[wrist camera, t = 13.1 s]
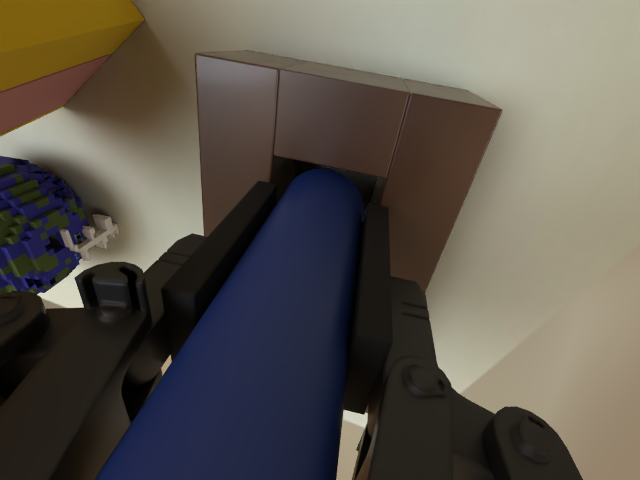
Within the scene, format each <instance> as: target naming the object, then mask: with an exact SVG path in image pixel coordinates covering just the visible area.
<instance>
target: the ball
mask: <svg viewBox="0 0 640 480" xmlns="http://www.w3.org/2000/svg"><path fill="white" fill-rule="evenodd" d="M93 217H94V220H95V223H96V226H97V230H100V231H99V232H97V233H95V230H94V227H89V224H88V220H87V217H86V214H85V211H84V208H83V205H82V202H81V199H80V197H76V196H75V194H74V193H73V191H72V189H70V188H67V186H66V185H65V182H64V181H63V180H61V179H58V177H57V176H54V175H52V172H46V171H45V169H44V168H38V167H37V165H35V164H30V163H29V161H28V160H22V159H15V158H10V157H3V156H0V294H4V293H9V292H18V291H23V292H31V293H34V294H36V295H37V294H38V293H40V292H42V293H45V292H46V291H48V290H49V289H51V288H52V287H53V286H55V285H56V284H57V283H59V282H60V281H61V280H63V279H64V278H65V277H67V276H68V275H69V273H71V272H72V270H74V269H75V268H76V266H77V265H79V260H80V259H81V258H83V260H84V261H90V260H91V259H90V256H89V253H88V249H89V248H91V247H92V246H94V245H95V247H99V248H104V249H106V248H107V244H106V242H108V239H107V237H111V238H115V237H116V235H115V234H119V229H118V226H117V224H115V223H112V221H111V217H109V216H103V215H98V214H94V215H93Z"/></svg>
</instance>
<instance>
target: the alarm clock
mask: <svg viewBox="0 0 640 480" xmlns="http://www.w3.org/2000/svg"><path fill="white" fill-rule="evenodd" d="M143 20H144V18H143V16H142V15H141V14H140V12H139V11H138V9H137V8H136V7H135V5H134V4H133V2H132V1H131V0H0V136H2V135H4V134H6V133H8V132H11V131H13V130H15V129H17V128H19V127H21V126H23V125H25V124H28V123H30V122H32V121H34V120H36V119H38V118H40V117H42V116H44V115H47V114H49V113H51V112H53V111H55V110H57V109H59V108H61V107H63V106H64V104H65V103H66V102H67V101H68V100H69V99H70V98H71V97H72V96H73V95H74V94H75V93H76V92H77V91H78V90H79V89H80V88H81V86H82V85H83V84H84V83H85V82H86V81H87V80H88V79H89V78H90V77H91V76H92V75H93V74H94V73H95V72H96V71H97V69H98V68H99V67H100V66H101V65H102V64H103V63H104V62H105V61H106V60H107V59H108V58H109V57H110V56H111V55H112V54H111V53H113V52H114V51H115V50H116V49H117V48H118V47H119V46H120V45H121V44H122V43H123V42H124V41H125V40H126V39H127V37H128V36H129V35H130V34H131V33H132V32H133V31H134V30H135V29H136V28H137V27H138V26H139V25H140V24H141V23H142V21H143Z"/></svg>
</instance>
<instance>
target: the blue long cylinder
mask: <svg viewBox="0 0 640 480" xmlns="http://www.w3.org/2000/svg"><path fill="white" fill-rule="evenodd" d="M363 219H364V201H363V198H362V195H361V193H360V191H359V189H358V188H357V186H356V185H355V184H354V183H353V182H352V181H351V180H350V179H349V178H347V177H346V176H344V175H342V174H341V173H338V172H336V171H333V170H328V169H313V170H309V171H306V172H304V173H302V174H300V175H298V176H297V177H296V178H294V179H293V180H292V181H291V182H290V184H289V185H288V187H287V188H286V190H285V191H284V193H283V194H282V196H281V197H280V199H279V200H278V202H277V203H276V205H275V206H274V208H273V209H272V211H271V212H270V214H269V215H268V217H267V219H266V220H265V222H264V223H263V225H262V226H261V228H260V229H259V231H258V232H257V234H256V235H255V237H254V238H253V240H252V241H251V243H250V244H249V246H248V247H247V249H246V250H245V252H244V253H243V255H242V256H241V258H240V259H239V261H238V262H237V264H236V265H235V267H234V269H233V270H232V272H231V273H230V275H229V276H228V278H227V279H226V281H225V282H224V284H223V285H222V287H221V288H220V290H219V291H218V293H217V294H216V296H215V297H214V299H213V300H212V302H211V303H210V305H209V306H208V308H207V309H206V311H205V312H204V314H203V316H202V317H201V319H200V320H199V322H198V323H197V325H196V326H195V328H194V329H193V331H192V332H191V334H190V335H189V337H188V338H187V340H186V341H185V343H184V344H183V346H182V347H181V349H180V350H179V352H178V353H177V355H176V356H175V358H174V359H173V361H172V363H171V364H170V366H169V367H168V369H167V370H166V372H165V373H164V375H163V376H162V378H161V379H160V381H159V382H158V384H157V385H156V387H155V388H154V390H153V391H152V393H151V394H150V396H149V397H148V399H147V400H146V402H145V403H144V405H143V406H142V408H141V409H140V411H139V412H138V414H137V416H136V417H135V419H134V420H133V422H132V423H131V425H130V426H129V428H128V429H127V431H126V432H125V434H124V435H123V437H122V438H121V440H120V441H119V443H118V444H117V446H116V447H115V449H114V450H113V452H112V453H111V455H110V456H109V458H108V459H107V461H106V462H105V464H104V466H103V467H102V469H101V470H100V472H99V473H98V475H97V476H96V478H95V479H94V480H336V476H337V465H338V457H339V447H340V437H341V428H342V419H343V409H344V400H345V390H346V381H347V371H348V358H349V349H350V339H351V330H352V321H353V311H354V302H355V293H356V283H357V274H358V265H359V256H360V246H361V237H362V228H363Z"/></svg>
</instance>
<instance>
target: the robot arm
mask: <svg viewBox="0 0 640 480" xmlns="http://www.w3.org/2000/svg"><path fill="white" fill-rule="evenodd" d="M276 195H277V184H273V183H268V182H263V181H258V182H257V183H256V184H255V185H254V186H253V187H252V188H251V189H250V190H249V192H248V193H247V194H246V195H245V196H244V197H243V198H242V199H241V200H240V201H239V203H238V204H237V205H236V206H235V207H234V208H233V209H232V210H231V211H230V213H229V214H228V215H227V216H226V217H225V218H224V219H223V220H222V221H221V222H220V224H219V225H218V226H217V227H216V228H215V229H214V230H213V231H212V232H211V234H210V235H209V236H208V237H206V236H201V235H196V234H190V235H188V236H186V237H184V238H182V239H180V240H177V241H176V242H175V243H174V244H173V245H172V246H171V247H170V248H169V249H168V250H167V252H165V253H164V254H163V255H162V256H161V257H160V258H159V260H157V261H156V262H155V263H154V264H152V265H151V266H150V267H149V268H148V269H147V270H146V271H145V272H144V273H143V271H142V269H140V268H139V267H138V266H136V265H135V264H130V263H126V262H109V263H104V264H99V265H96V266H94V267H91V268H89V269H86V270H84V271H83V272H82V273H80V274H79V275H78V276H76V277H75V280H76V283H77V286H78V289H79V293H80V296H81V299H82V302H83V305H84V308H58V309H56V308H55V309H45V306H44V304H43V302H42V299H41V297H40V296H38V295H36V294H34V293H31V292H23V291H18V292H9V293H4V294H0V480H94V479H95V478H96V476H97V475H98V473H99V472H100V470H101V469H102V467H103V466H104V464H105V462H106V461H107V459H108V458H109V456H110V455H111V453H112V452H113V450H114V449H115V447H116V446H117V444H118V443H119V441H120V440H121V438H122V437H123V435H124V434H125V432H126V431H127V429H128V428H129V426H130V425H131V423H132V422H133V420H134V419H135V417H136V416H137V414H138V412H139V411H140V409H141V408H142V406H143V405H144V403H145V402H146V400H147V399H148V397H149V396H150V394H151V393H152V391H153V390H154V388H155V387H156V385H157V384H158V382H159V381H160V379H161V378H162V370H161V367H162V366H163V364H164V363H165V361H166V360H167V358H168V357H169V355H170V354H171V360H172V361H173V359H174V358H175V356H176V355H177V353H178V352H179V350H180V349H181V347H182V346H183V344H184V343H185V341H186V340H187V338H188V337H189V335H190V334H191V332H192V331H193V329H194V328H195V326H196V325H197V323H198V322H199V320H200V319H201V317H202V316H203V314H204V312H205V311H206V309H207V308H208V306H209V305H210V303H211V302H212V300H213V299H214V297H215V296H216V294H217V293H218V291H219V290H220V288H221V287H222V285H223V284H224V282H225V281H226V279H227V278H228V276H229V275H230V273H231V272H232V270H233V269H234V267H235V265H236V264H237V262H238V261H239V259H240V258H241V256H242V255H243V253H244V252H245V250H246V249H247V247H248V246H249V244H250V243H251V241H252V240H253V238H254V237H255V235H256V234H257V232H258V231H259V229H260V228H261V226H262V225H263V223H264V222H265V220H266V219H267V217H268V215H269V214H270V212H271V211H272V209H273V208H274V206H275V205H276ZM367 406H368V423H367V425H366V428H365V430H364V432H363V435H362V437H361V440H360V442H359V444H358V447H357V451H359V452H358V456H357V460H356V465H355V469H354V473H353V478H352V480H583V479H582V477H581V475H580V473H579V471H578V469H577V467H576V465H575V463H574V461H573V459H572V457H571V455H570V453H569V451H568V449H567V447H566V446H565V445H564V443H563V441H562V440H561V438H560V437H559V435H558V434H557V433H556V432H555V431H554V430H553V429H552V428H551V427H550V426H549V425H548V424H547V423H546V422H545V421H544V420H543V419H541V418H540V417H538V416H536V415H535V414H533V413H532V412H530V411H528V410H525V409H521V408H519V407H504V408H502V409H501V410H499V411H498V412H497V413H496V414H494V413H492V412H490V411H488V410H486V409H485V408H483V407H481V406H479V405H477V404H475V403H473V402H471V401H470V400H468V399H466V398H465V397H463V396H461V395H460V394H458V393H457V392H456V391H455V390H454V389H453V388H452V387H451V383H450V381H449V380H448V378H447V377H446V375H445V373H444V372H443V371H442V370H441V369H440V368H438V365H437V361H436V355H435V349H434V343H433V337H432V331H431V325H430V321H429V313H428V310H427V302H426V296H425V293H424V292H423V290H422V289H421V287H420V286H419V284H418V283H417V282H416V281H411V280H407V279H402V278H398V277H393V276H391V270H390V241H389V212H388V207H384V206H379V205H375V204H370V203H369V204H368V208H367V211H366V215H365V219H364V223H363V228H362V237H361V246H360V256H359V265H358V274H357V283H356V293H355V302H354V311H353V321H352V330H351V339H350V349H349V358H348V371H347V381H346V390H345V400H344V409H343V410H347V411H352V412H356V413H360V414H365V411H366V409H367Z"/></svg>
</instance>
